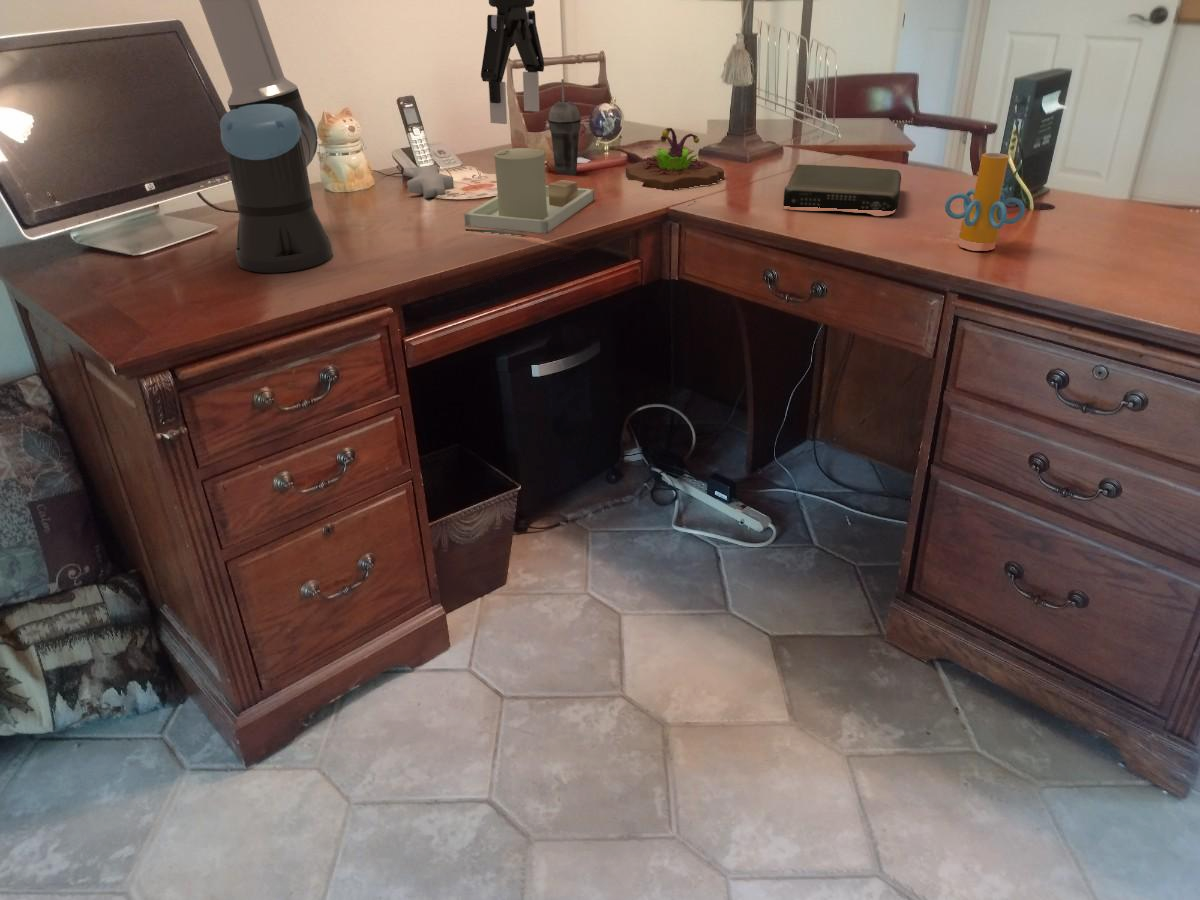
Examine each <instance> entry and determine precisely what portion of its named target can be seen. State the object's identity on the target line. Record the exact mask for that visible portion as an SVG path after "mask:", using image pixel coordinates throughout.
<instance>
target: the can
mask: <svg viewBox="0 0 1200 900" xmlns="http://www.w3.org/2000/svg"><path fill="white" fill-rule="evenodd" d="M545 155H546V153H545V151H544V150H542V149H537V148H531V147H516V148H515V147H514V148H505V149H501V150H498V151H496V152H494V153H493V156H494V165H495V177H496V191H497V196H498V208H499V216H507V217H517V218H528V219H539V220H543V219H545V218H546V217H548V213H547V204H546V186H547V185H546V163H545V162H546V161H545V160H546V159H545Z"/></svg>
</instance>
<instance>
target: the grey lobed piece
mask: <svg viewBox="0 0 1200 900" xmlns="http://www.w3.org/2000/svg"><path fill="white" fill-rule="evenodd" d="M402 175H403V176H406V177H410V178H411V179H409V180H406V183H407V184H406V185H407V191H408V193H411V194H420V195H423V199H435V198H436V197H438V196H441V195H445V194H446V190H448V189H450V190H451V189H454V188H455V186H454V178H453V177H454V176H450V175H448V174H443V173H440V169H439V167H438V165H437V164H431V165H426V166H424V165H423V166H414V167H404V169H403V173H402Z"/></svg>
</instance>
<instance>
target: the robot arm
mask: <svg viewBox="0 0 1200 900" xmlns="http://www.w3.org/2000/svg"><path fill="white" fill-rule="evenodd" d="M199 3H200V6H201V8H202V11H203V14H204V16H205V19H206V21H207V25H208V28H209V30H210V32H211V33H210V34H211V35H212V38H213V41H214V44H215V46H216V48H217V52H218V54H219V56H220V59H221V62H222V65H223V68H224V70H225V72H226V75H227V78H228V81H229V84H230V87H231V93H230V95H229V97H228V100H227V102H226V103H227V105H228V108H229V111H227V112H226V113H224V115H222V117H221V119H220V122H219V127H220V141H221V144H222V146H223V148H224V153H225V159H226V162H227V163H226V164H227V167H228V172H229V176H230V181H231V185H232V190H233V193H234V199H235V204H236V206H237V207H236V208H237V212H238V227H237V235H236V236H237V238H236V240H237V241H236V243H237V244H236V246H235V256H236V259H237V264H238V266H239V267H240V268H241V269H243V270H245V271H249V272H254V273H261V274H262V273H265V274H268V273H269V274H270V273H273V274H274V273H278V274H279V273H287V272H289V273H290V272H295V271H300V270H305V269H309V268H313V267H316V266H319V265H321V264H324V263H326V262H327V261H329V260H330V259H331V258H332V257H333V248H332V242H331V240H330V238H329V236H328V235H327V233H326V231H325V230H324V227H323V224H322V223H321V220H320V219H319V216H318V214H317V213H316V210H315V207H314V202H313V196H312V191H311V185H310V179H309V175H308V174H309V173H308V166H309V165H310V164H311V162H312V161H313V159H314V157H315V155H316V153H317V149H318V142H319V141H318V138H319V137H318V132H317V131H318V130H317V127H316V125H315V122H314V120H313V119H312V116H311V115H310V114H309V112H308V111H307V109H306V108H305V105H304V102H303V99H302V97H301V94H300V91H299V88H298V85H296V84H295V83H294V82H292V81H291V80H289V79H287V78H286V77H285V76H284V72H283V69H282V66H281V63H280V60H279V58H278V55H277V52H276V49H275V46H274V43H273V40H272V38H271V35H270V31H269V28H268V25H267V23H266V20H265V17H264V14H263V10H262V8H261V4H260V2H259V0H199ZM534 4H535V0H488V5H489V6H490V7H493V8H496V14H488V15H487V18H486V21H487V22H486V27H487V28H486V29H487V30H486V37H485V43H484V51H483V57H482V64H481V71H480V78H481V81H482V82H486V83H487V82H488V97H489V98H488V99H489V114H490V116H489V117H490V124H498V125H499V124H500V125H501V124H502V125H506V124H508V118H507V117H508V116H507V114H508V113H507V93H506V91H507V89H506V88H507V87H506V82H505V81H503V79H504V76H505V72H506V67H507V64H508V60H509V57H510V53H511V50H512V48H513V47H516V49H517V51H518V54H519V57H520V59H521V61H522V65H523V67H524V69H525V71H523V72H522V83H523V84H522V86H523V89H522V90H523V111H525V112H526V111H527V112H536V113H537V112H540V82H539V73H540V72H544V70H545V65H544V64H545V60H544V55H543V50H542V48H541V47H542V46H541V41H540V36H539V33H538V28H537V21H536V12H535V10H532V9H531V10H530V9H529V10H528V9H527V8H531V7H533V6H534Z"/></svg>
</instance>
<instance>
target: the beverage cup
mask: <svg viewBox="0 0 1200 900" xmlns="http://www.w3.org/2000/svg"><path fill="white" fill-rule="evenodd" d="M560 84H561V100H559V101H557V102H555V103H554V104H553V105H552V107H551V108H550V111H549V113H548V120H547V122H548V126H549V131H550V133H551V134H550V135H551V136H550V137H551V144H552V145H551V146H552V153H553V160H554V168H555V172H556V174H558V175H559V174H560V175H564V176H565V175H566V176H571V177H575V176H577V171H578V170H577V168H578V155H579V153H578V151H579V139H580V138H579V137H580V135H579V134H580V130H581V122H582V118H581V114H580V111H579V109H578V107H577V106H576V104H575V103H574V102H572V101H570V100H565V97H566V96H565V80H564V79H563V78H562V79H561V83H560Z"/></svg>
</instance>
